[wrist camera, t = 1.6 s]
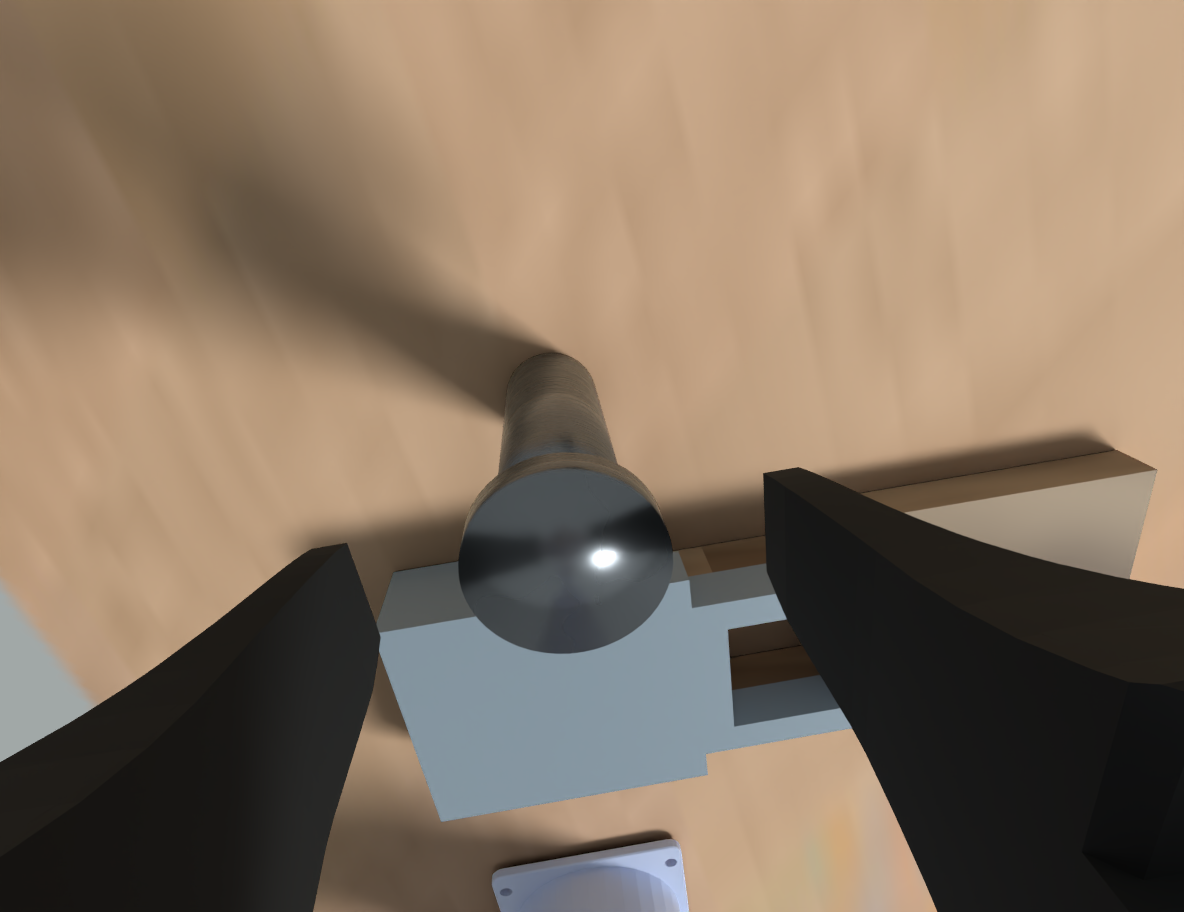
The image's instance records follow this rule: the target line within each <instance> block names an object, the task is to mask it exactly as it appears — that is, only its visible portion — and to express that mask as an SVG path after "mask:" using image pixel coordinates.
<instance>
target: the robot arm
mask: <svg viewBox="0 0 1184 912" xmlns="http://www.w3.org/2000/svg"><path fill="white" fill-rule="evenodd" d="M763 479H764V510H765V541H766V571H767V574H768V576H769V579H770V581H771V584H772V586H773V588H774V591H775V593H776V596H777V598H778V600H779V603H780V605H781V607H782V609H783V612H784V614H785V616H786V619H787V620H788V622H789V624H790V626H791V627H792V629H793V631H794V632H795V634H796V636H797V637H798V639H799V641H800V643H801V644H802V646H803V648H804V649H805V651H806V653H807V654H808V656H809V658H810V659H811V661H812V663H813V664H814V666H815V668H816V669H817V671H818V672H819V674H820V676H821V677H822V679H823V681H824V682H825V684H826V686H827V687H828V689H829V691H830V692H831V694H832V696H833V697H834V699H835V701H836V702H837V704H838V706H839V707H840V709H841V710H842V712H843V714H844V715H845V717H846V719H847V720H848V722H849V724H850V725H851V727H852V729H853V731H854V733H855V734H856V736H857V738H858V740H859V742H860V743H861V745H862V747H863V749H864V751H865V753H866V755H867V757H868V759H869V761H870V763H871V765H872V767H873V769H874V772H875V774H876V776H877V778H878V780H879V782H880V784H881V786H882V789H883V791H884V793H885V795H886V797H887V799H888V801H889V803H890V805H891V808H892V810H893V812H894V814H895V816H896V818H897V821H898V823H899V825H900V827H901V830H902V832H903V834H904V836H905V839H906V841H907V843H908V845H909V847H910V850H911V852H912V854H913V856H914V859H915V861H916V863H917V865H918V868H919V870H920V872H921V874H922V876H923V879H924V881H925V883H926V886H927V888H928V890H929V893H930V895H931V897H932V900H933V902H934V905H935V907H936V909H937V912H1184V589H1182V588H1175V587H1169V586H1163V585H1157V584H1152V583H1147V582H1141V581H1136V580H1131V579H1126V578H1120V577H1115V576H1111V575H1106V574H1102V573H1098V572H1093V571H1089V570H1084V569H1080V568H1076V567H1071V566H1067V565H1062V564H1058V563H1054V562H1050V561H1047V560H1043V559H1039V558H1035V557H1031V556H1028V555H1024V554H1021V553H1018V552H1014V551H1011V550H1008V549H1004V548H1001V547H998V546H994V545H991V544H988V543H984V542H981V541H978V540H975V539H972V538H969V537H966V536H963V535H960V534H957V533H955V532H952V531H949V530H947V529H944V528H941V527H939V526H936V525H934V524H931V523H928V522H926V521H923V520H920V519H918V518H915V517H913V516H910V515H908V514H906V513H903V512H901V511H898V510H896V509H894V508H891V507H889V506H887V505H884V504H882V503H880V502H878V501H875V500H873V499H871V498H869V497H866V496H864V495H862V494H860V493H857V492H855V491H853V490H851V489H849V488H846V487H844V486H842V485H840V484H838V483H836V482H833V481H831V480H829V479H827V478H824V477H822V476H820V475H817V474H815V473H813V472H810V471H808V470H805V469H802V468H799V467H797V468H791V469H785V470H779V471H773V472H768V473H763ZM380 639H381V636H380V634H379V631H378V628H377V625H376V623H375V620H374V617H373V614H372V611H371V609H370V606H369V603H368V600H367V597H366V595H365V592H364V589H363V586H362V584H361V581H360V578H359V575H358V572H357V570H356V567H355V564H354V561H353V559H352V556H351V553H350V550H349V547H348V545H347V543H344V544H338V545H332V546H326V547H321V548H315V549H311V550H309V551H307V552H306V553H304V554H303V555H301V556H300V557H298V558H297V559H295V560H294V561H293V562H291V563H290V564H289V565H287V566H286V567H285V568H283V569H282V570H281V571H280V572H278V573H277V574H276V575H274V576H273V577H272V578H271V579H269V580H268V581H267V582H266V583H264V584H263V585H262V586H261V587H259V588H258V589H257V590H256V591H254V592H253V593H252V594H251V595H249V596H248V597H247V598H246V599H244V600H243V601H242V602H241V603H239V604H238V605H237V606H236V607H234V608H233V609H232V610H231V611H229V612H228V613H227V614H226V615H224V616H223V617H222V618H221V619H219V620H218V621H217V622H215V623H214V624H213V625H211V626H210V627H209V628H207V629H206V630H205V631H203V632H202V633H201V634H199V635H198V636H197V637H195V638H194V639H193V640H191V641H190V642H189V643H187V644H186V645H185V646H183V647H182V648H181V649H179V650H178V651H177V652H175V653H174V654H172V655H171V656H170V657H168V658H167V659H166V660H164V661H163V662H162V663H160V664H159V665H158V666H156V667H155V668H153V669H152V670H150V671H149V672H148V673H146V674H145V675H143V676H142V677H140V678H139V679H137V680H136V681H134V682H133V683H131V684H130V685H128V686H127V687H126V688H124V689H122V690H121V691H119V692H118V693H116V694H115V695H113V696H112V697H110V698H108V699H107V700H105V701H104V702H102V703H101V704H99V705H97V706H96V707H94V708H93V709H91V710H90V711H88V712H86V713H85V714H83V715H82V716H80V717H78V718H77V719H75V720H73V721H72V722H70V723H69V724H67V725H65V726H63V727H62V728H60V729H58V730H56V731H54V732H53V733H51V734H49V735H47V736H45V737H44V738H42V739H40V740H38V741H37V742H35V743H33V744H31V745H30V746H28V747H26V748H25V749H23V750H21V751H19V752H17V753H16V754H14V755H12V756H10V757H9V758H7V759H5V760H3V761H1V762H0V912H313V909H314V904H315V899H316V894H317V889H318V884H319V879H320V874H321V869H322V864H323V859H324V854H325V849H326V845H327V841H328V837H329V834H330V830H331V826H332V822H333V819H334V815H335V812H336V809H337V806H338V802H339V799H340V796H341V793H342V789H343V786H344V783H345V780H346V777H347V773H348V770H349V767H350V764H351V761H352V757H353V754H354V751H355V748H356V744H357V741H358V738H359V735H360V731H361V728H362V725H363V722H364V718H365V715H366V712H367V708H368V705H369V701H370V698H371V694H372V691H373V685H374V680H375V674H376V668H377V661H378V654H379V647H380ZM492 888H493V891H494V894H495V897H496V900H497V903H498V905H499V908H500V911H501V912H689V907H688V899H687V892H686V884H685V876H684V869H683V861H682V853H681V848H680V844H679V842H677V841H676V840H673V839H665V840H660V841H654V842H648V843H643V844H637V845H632V846H626V847H620V848H615V849H609V850H604V851H598V852H592V853H587V854H581V855H575V856H570V857H564V858H559V859H553V860H547V861H542V862H536V863H531V864H525V865H519V866H514V867H508V868H503V869H499V870H497V871H496V872H494V874H493V875H492Z"/></svg>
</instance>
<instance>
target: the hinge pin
mask: <svg viewBox="0 0 1184 912" xmlns="http://www.w3.org/2000/svg"><path fill="white" fill-rule="evenodd" d="M672 569H673V550H672V544H671V539H670V537H669V534H668V531H667V528H666V525H665V523H664V520H663V517H662V515H661V512H660V509H659V507H658V504H657V503H656V501H655V499H654V497H653V495H652V494H651V492H650V491H649V490H648V488H647V487H646V486H645V485H644V484H643V483H642V482H641V481H640V480H639V479H638V478H637V477H636V476H635V475H634V474H632V473H631V472H630V471H628V470H627V469H625V468H624V467H622V466H620V465H618V464H617V461H616V457H615V454H614V450H613V447H612V443H611V440H610V436H609V433H608V429H607V426H606V422H605V419H604V415H603V412H602V409H601V405H600V402H599V398H598V395H597V391H596V388H595V384H594V382H593V379H592V377H591V375H590V373H589V372H588V371H587V369H586V368H585V367H584V366H583V365H582V364H581V363H579V362H578V361H577V360H575V359H573V358H571V357H569V356H566V355H563V354H557V353H546V354H540V355H537V356H534V357H532V358H530V359H528V360H526V361H525V362H523V363H522V364H521V365H520V366H519V367H518V368H517V369H516V370H515V372H514V373H513V375H512V376H511V379H510V381H509V384H508V387H507V395H506V404H505V414H504V424H503V434H502V443H501V453H500V463H499V473H498V475H497V476H496V477H495V478H494V479H493V480H492V481H490V482H489V483H488V484H487V485H486V486H485V488H484V489H483V490H482V491H481V492H480V493H479V495H478V496H477V498H476V500H475V501H474V503H473V504H472V506H471V509H470V511H469V513H468V515H467V519H466V522H465V526H464V531H463V536H462V542H461V547H460V553H459V561H458V574H459V581H460V586H461V589H462V592H463V595H464V598H465V600H466V602H467V603H468V605H469V607H470V609H471V610H472V612H473V613H474V614H475V616H476V617H477V618H478V619H479V620H480V621H481V622H482V623H483V624H484V625H485V626H486V627H487V628H488V629H489V630H490V631H492V632H493V633H494V634H496V635H497V636H499V637H501V638H502V639H504V640H506V641H507V642H510V643H512V644H514V645H517V646H519V647H522V648H525V649H529V650H532V651H537V652H543V653H553V654H571V653H579V652H586V651H590V650H594V649H598V648H601V647H604V646H607V645H609V644H611V643H614V642H616V641H618V640H620V639H622V638H623V637H625V636H627V635H628V634H630V633H632V632H633V631H634V630H636V629H637V628H638V627H639V626H641V625H642V624H643V623H644V622H645V621H646V620H647V619H648V618H649V617H650V616H651V615H652V614H653V612H654V611H655V610H656V609H657V607H658V606H659V604H660V602H661V601H662V599H663V598H664V595H665V593H666V591H667V589H668V586H669V583H670V579H671V576H672Z"/></svg>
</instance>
